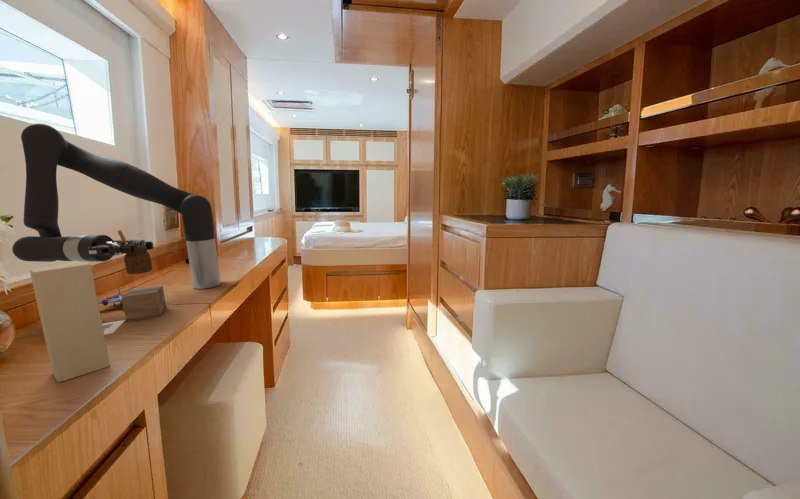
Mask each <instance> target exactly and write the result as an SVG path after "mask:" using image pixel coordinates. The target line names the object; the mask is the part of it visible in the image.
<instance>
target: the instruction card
mask: <svg viewBox="0 0 800 499" xmlns="http://www.w3.org/2000/svg"><path fill="white" fill-rule="evenodd" d="M125 322H126V319H124V320H118V321H110V322H104V323H103V322H102V326H103V331H104V336H107V335H113V334H114V333H115V332H116V331H117V330H118V329H119V328H120V327H121V326H122V325H123V324H124V323H125Z"/></svg>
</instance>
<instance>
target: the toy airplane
mask: <svg viewBox="0 0 800 499" xmlns="http://www.w3.org/2000/svg"><path fill="white" fill-rule="evenodd" d="M117 291H118V294H117V295H113V296H109V297H106V298H105V299H102V300H101V301H98V305H101V304H102V305H103V306H107V305H108V304H110V303H112V304H113V307H116V306H117V304H116V303H117V302H119V303H120V305H121V306H123V301H122V296H123V295H125V294H126V293H124V294H121V291H120V289H119V287H117ZM122 308H123V310H124V307H122Z"/></svg>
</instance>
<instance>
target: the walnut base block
mask: <svg viewBox="0 0 800 499" xmlns="http://www.w3.org/2000/svg"><path fill="white" fill-rule="evenodd" d="M124 294H125V295H123V296H122V301H123V305H122V308H124V309H123V311H124V317H125V322H127V323H128V322H132V321H139V320H145V319H151V318H152V319H153V318H158V317H159V318H160V317H162V316H163V315H164V313H165V311H166V310H167V306H168V305H167V303H166V298H165V292H164V286H163V285H158V286H149V287H142V288H134V289H130V290H128V291H127V292H126V293H124Z"/></svg>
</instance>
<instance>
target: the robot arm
mask: <svg viewBox="0 0 800 499" xmlns="http://www.w3.org/2000/svg"><path fill="white" fill-rule="evenodd" d="M20 135H21V136H20V139H21V140H20V141H21V143H22V148H23V152H24V153H23V155H24V161H25V191H24V192H25V194H24V205H23V206H24V207H23V225H24V226H25V227H27V228H29V229H31V230H34V231H36V232H37V233H38V234H39V235H38V236H34V235H33V236H32V235H30V236H23V237H21V238H19V239H17V240H16V241H15V242H14V243H13V245H12V248H11V249H12V253H13V255H14V256H15V257H16V258H17V259H18V260H21V261H24V262H40V263H41V262H43V263H45V262H46V263H50V262H51V263H52V262H56V261H59V262H60V261H61V262H86V263H88V262H89V263H90V262H91V263H92V262H94V263H95V262H107V261H110V260H111V259H112V258H113V257H116V256H119V255H120V256H121V255H124V254H125V253H136V252H137V248H136V246H144V245H145V246H146V247H147V249H148V250H153V249H154V243H153V241H146V239H145V240H144V239H126V244H127V245H125V243H124V242H122V240H121V239H113V238H111V237H110V236H109V235H107V234H81V235H73V236H62V232H61V230H60V227H59V223H58V222H59V193H58V192H59V191H58V183H57V169H58V166H60V167H62V168H66V169H69V170H71V171H74V172H77V173H80V174H81V175H84V176H86V177H88V178H91V179H93V180H94V181H97V182H99V183H101V184H103V185H105V186H107V187H110V188H112V189H114V190H117V191H119V192H121V193H123V194H126V195H130V196H132V197H135V198H138V199H139V200H140V199H141V200H144V201H148V202H152V203H155V204H158V205H162V206H164V207H166V208H169V209H171V210H173V211H174V212H177V213H178V214H181V217H182V224H183V232H184V237H185V243H186V249H187V251H186V252H187V257H188V262H189V269H190V275H191V282H192V288H193V289H195V290H197V289H198V290H201V289H210V288H213V287H217V286H221V284H222V279H221V272H220V264H219V260H218V259H219V257H218V252H217V251H218V250H217V245H216V237H215V226H214V220H213V219H214V218H213V210H212V206H211V203H210V201H209V200H208V199H207V198H206V197H204V196H202V195H199V194H194V193H191V192H188V191H185V190H182V189H179V188H177V187H175V186H172V185H170V184H168V183H167V182H164V181H163V180H162V179H160V178H158V177H156V176H155V175H152V174H151V173H149V172H148V171H145V170H143V169H141V168H138V167H137V166H135V165H132V164H130V163H128V162H125V161H122V160H119V159H115V158H112V157H108V156H106V155H105V156H104V155H101V154H100V155H99V154H96V153H93V152H91V151H89V150H86V149H84V148H82V147H80V146H78V145H76V144H74V143H72V142H70V141H69V140H67V139H65V137H64V136H63V134H62V133H61V132H60V131H59V130H57V128H55V127H53V126H51V125H49V124H47V123H46V124H45V123H38V122H37V123H32V124H29V125H27V126H26V127H24V129H23V130H22V132H21V134H20ZM145 241H146V243H145ZM136 242H137V244H136ZM142 243H143V245H142ZM148 250H147V251H148Z"/></svg>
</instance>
